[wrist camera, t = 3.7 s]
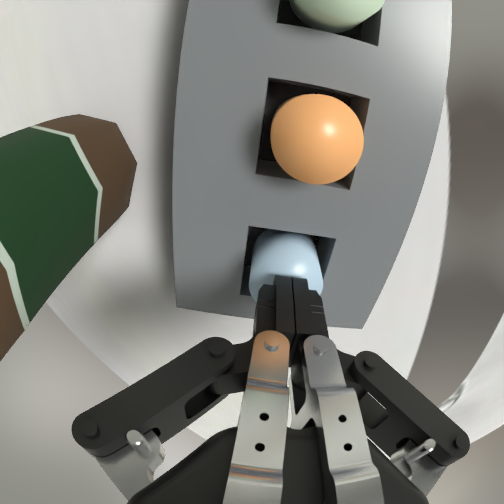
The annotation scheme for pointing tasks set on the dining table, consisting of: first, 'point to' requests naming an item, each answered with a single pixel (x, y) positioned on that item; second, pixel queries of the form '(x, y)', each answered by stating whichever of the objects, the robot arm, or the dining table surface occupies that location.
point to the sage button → (335, 13)
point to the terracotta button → (316, 138)
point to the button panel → (270, 172)
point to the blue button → (284, 260)
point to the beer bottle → (55, 208)
